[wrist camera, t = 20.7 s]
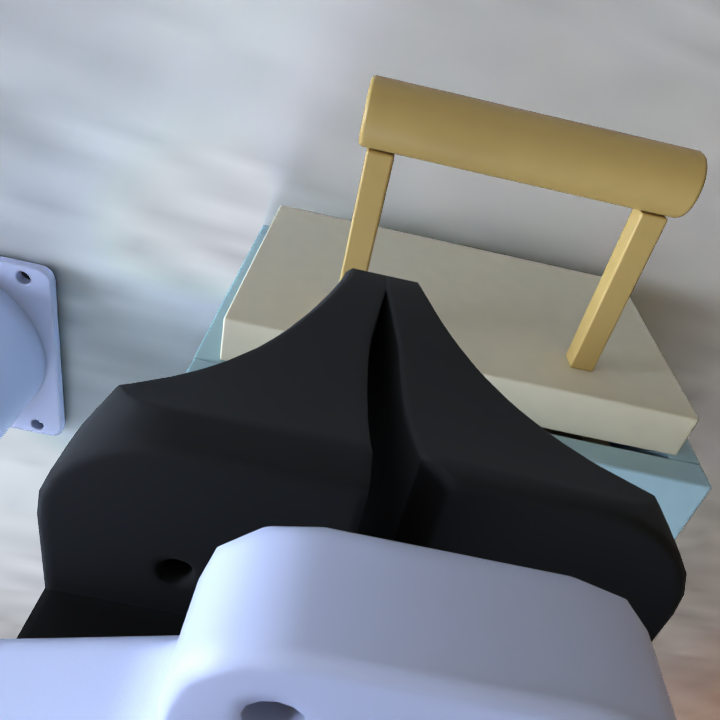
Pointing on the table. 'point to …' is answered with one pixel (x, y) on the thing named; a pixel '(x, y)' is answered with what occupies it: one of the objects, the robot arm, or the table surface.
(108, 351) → the table surface
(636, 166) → the drawer
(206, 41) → the table surface
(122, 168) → the table surface
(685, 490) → the cabinet
